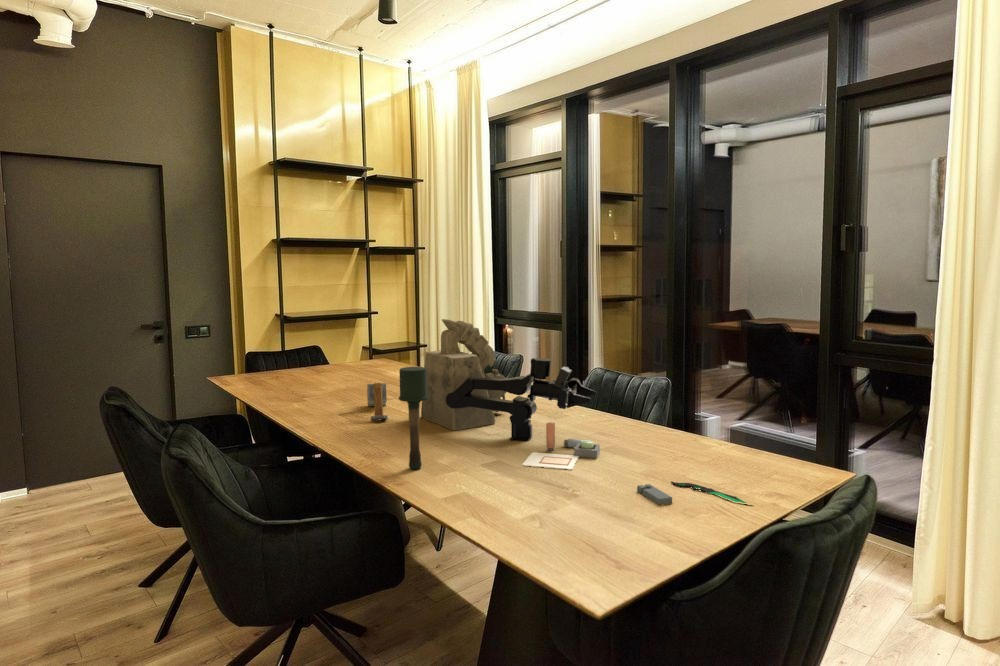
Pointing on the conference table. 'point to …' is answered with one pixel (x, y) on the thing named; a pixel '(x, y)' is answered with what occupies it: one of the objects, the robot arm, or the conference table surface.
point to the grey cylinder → (572, 442)
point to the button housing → (587, 451)
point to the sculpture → (458, 377)
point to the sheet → (551, 461)
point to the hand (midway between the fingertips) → (593, 396)
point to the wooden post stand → (377, 399)
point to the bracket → (654, 494)
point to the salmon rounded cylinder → (550, 436)
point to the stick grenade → (413, 406)
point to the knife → (708, 491)
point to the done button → (587, 444)
